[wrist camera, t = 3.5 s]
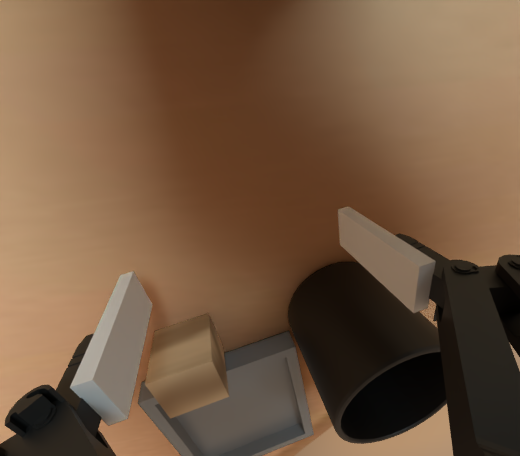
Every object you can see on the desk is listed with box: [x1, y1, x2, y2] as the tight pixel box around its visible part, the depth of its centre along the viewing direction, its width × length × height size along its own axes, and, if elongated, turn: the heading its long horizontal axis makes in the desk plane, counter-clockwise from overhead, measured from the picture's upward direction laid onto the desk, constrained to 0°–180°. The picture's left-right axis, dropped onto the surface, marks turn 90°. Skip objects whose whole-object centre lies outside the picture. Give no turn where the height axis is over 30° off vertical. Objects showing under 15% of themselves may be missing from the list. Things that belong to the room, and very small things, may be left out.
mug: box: [288, 262, 447, 444], centre depth 20 cm, size 9×12×9 cm
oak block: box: [145, 313, 229, 419], centre depth 19 cm, size 4×4×4 cm
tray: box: [138, 331, 314, 456], centre depth 26 cm, size 17×14×2 cm
